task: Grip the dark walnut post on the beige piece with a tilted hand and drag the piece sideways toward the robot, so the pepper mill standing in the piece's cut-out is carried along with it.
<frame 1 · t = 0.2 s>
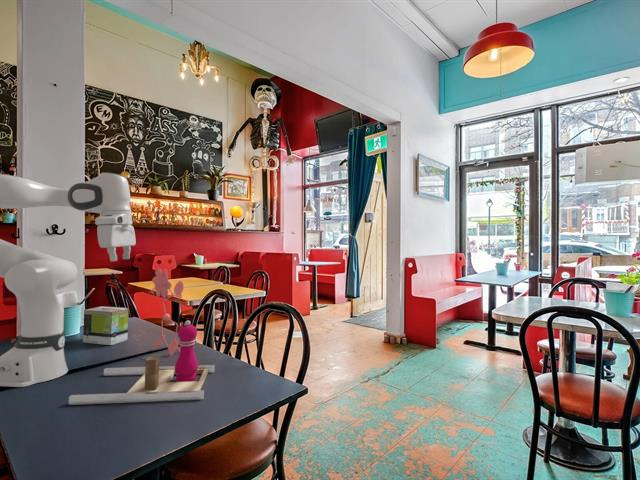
hand: (120, 260, 118), 39 cm above the table, tool pointing down, fingers open, 8 cm apart
tea box: (105, 341, 153), on the table
beige piece: (170, 368, 109), point 5 cm above the table, slide at 0.0 cm
runner track: (150, 385, 109), on the table
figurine: (158, 354, 138), on the table
pepper mill: (186, 381, 114), resting in beige piece
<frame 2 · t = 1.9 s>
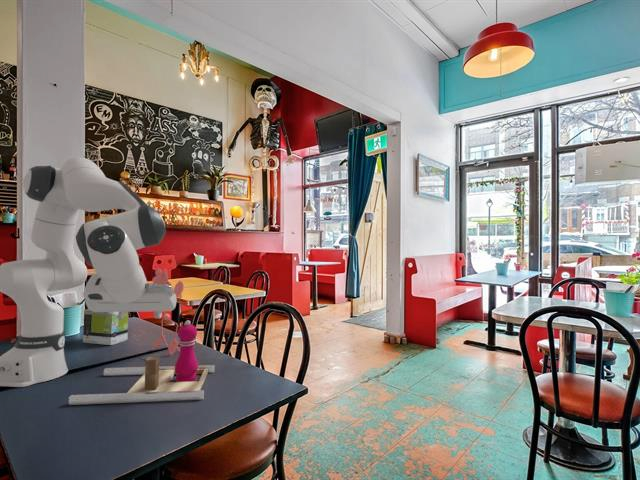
hand: (139, 316, 92), 26 cm above the table, tool tilted 45°, fingers open, 8 cm apart
nothing on the table moved.
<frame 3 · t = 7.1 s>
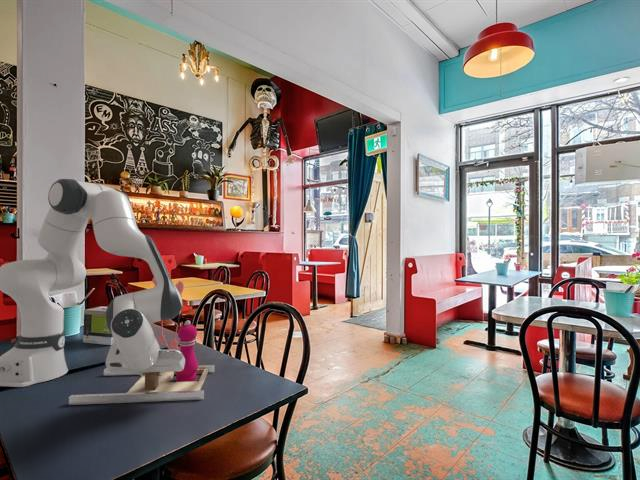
hand: (152, 373, 104), 6 cm above the table, tool tilted 45°, fingers closed on beige piece, 3 cm apart
beige piece: (170, 368, 109), point 5 cm above the table, slide at 0.0 cm, touching gripper
everything else where it was.
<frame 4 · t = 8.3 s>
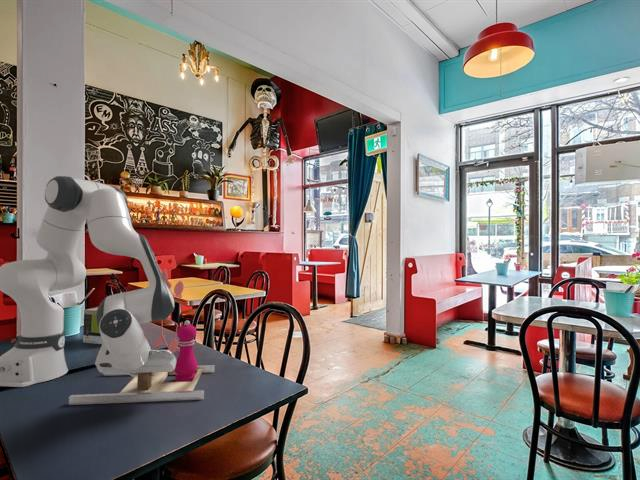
hand: (144, 374, 104), 6 cm above the table, tool tilted 45°, fingers open, 4 cm apart
beige piece: (164, 368, 109), point 5 cm above the table, slide at 2.1 cm, touching gripper, pepper mill
pepper mill: (185, 381, 114), resting in beige piece
everything else where it was.
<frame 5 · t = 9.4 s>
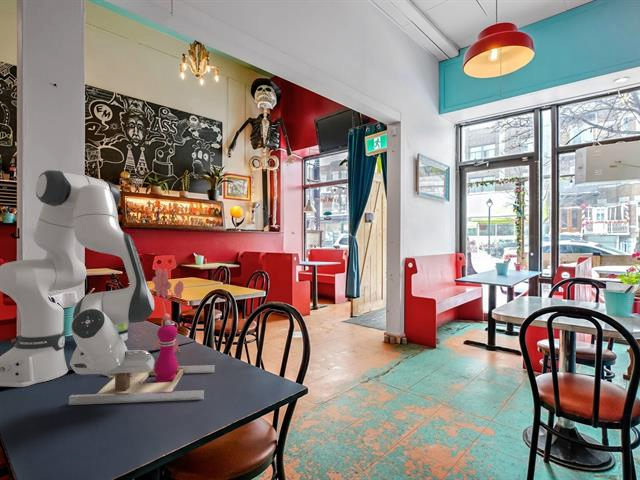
hand: (122, 374, 103), 6 cm above the table, tool tilted 45°, fingers open, 4 cm apart
beige piece: (143, 369, 108), point 5 cm above the table, slide at 8.3 cm, touching gripper, pepper mill
pepper mill: (165, 381, 113), resting in beige piece
everything else where it was.
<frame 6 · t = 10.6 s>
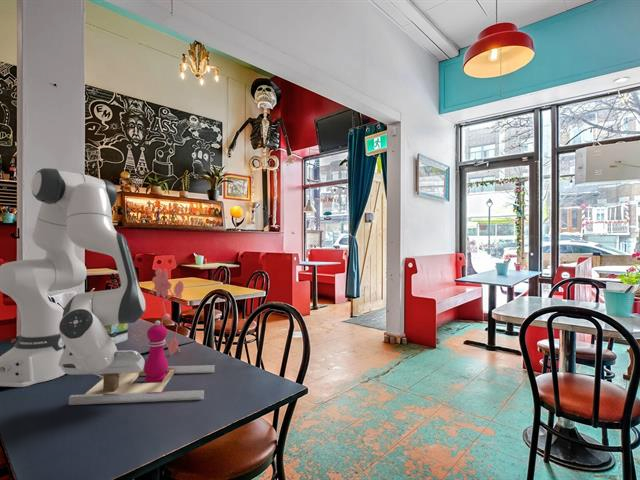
hand: (112, 375, 102), 6 cm above the table, tool tilted 45°, fingers closed on beige piece, 3 cm apart
beige piece: (132, 369, 108), point 5 cm above the table, slide at 11.4 cm, touching gripper, pepper mill
pepper mill: (155, 382, 112), resting in beige piece
everything else where it was.
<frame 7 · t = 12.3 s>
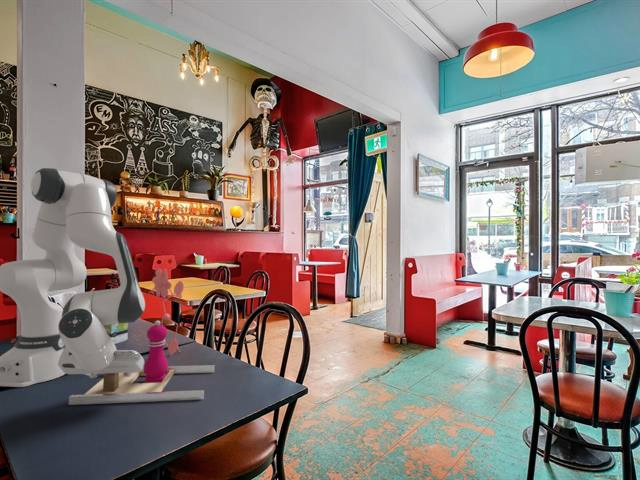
hand: (111, 374, 102), 6 cm above the table, tool tilted 45°, fingers open, 8 cm apart
beige piece: (132, 369, 108), point 5 cm above the table, slide at 11.4 cm
pepper mill: (155, 382, 112), resting in beige piece
everything else where it was.
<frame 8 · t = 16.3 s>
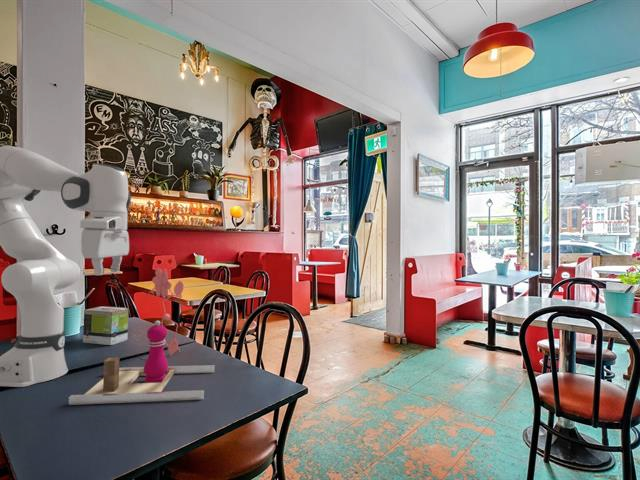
hand: (107, 273, 94), 37 cm above the table, tool pointing down, fingers open, 8 cm apart
nothing on the table moved.
at the end: beige piece slide at 11.4 cm; pepper mill inside the target area (0.1 cm from its centre), resting in beige piece; pepper mill tilted 0° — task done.
